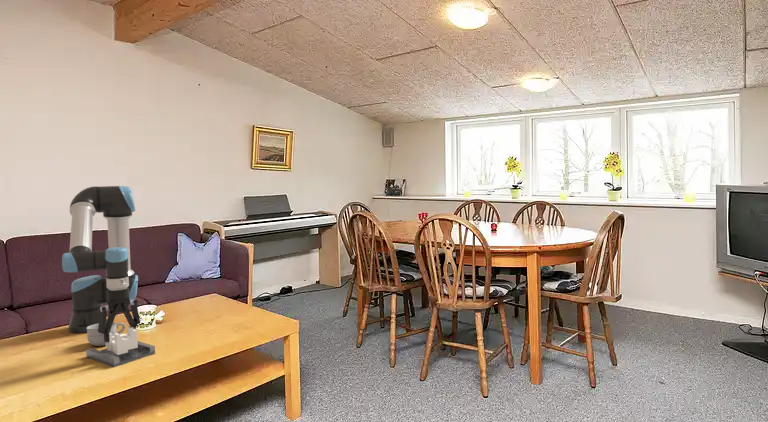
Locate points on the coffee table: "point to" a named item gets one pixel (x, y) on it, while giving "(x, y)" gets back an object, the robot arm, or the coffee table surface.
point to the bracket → (124, 342)
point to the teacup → (97, 337)
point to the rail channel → (117, 360)
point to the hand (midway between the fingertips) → (120, 346)
